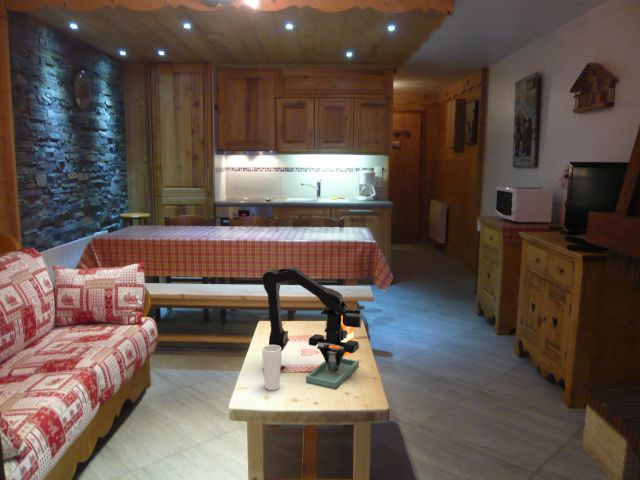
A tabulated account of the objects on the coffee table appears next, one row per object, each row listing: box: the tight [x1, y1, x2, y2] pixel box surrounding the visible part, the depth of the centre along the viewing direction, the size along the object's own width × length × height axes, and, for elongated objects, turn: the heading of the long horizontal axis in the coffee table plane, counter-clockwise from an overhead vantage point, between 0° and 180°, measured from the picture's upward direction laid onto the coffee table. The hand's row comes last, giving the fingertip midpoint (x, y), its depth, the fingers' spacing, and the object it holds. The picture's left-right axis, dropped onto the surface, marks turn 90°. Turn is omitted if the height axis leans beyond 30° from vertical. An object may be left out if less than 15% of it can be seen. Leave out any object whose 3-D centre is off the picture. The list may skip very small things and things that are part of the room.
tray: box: [305, 357, 360, 390], centre depth 196 cm, size 22×12×2 cm, turn 154°
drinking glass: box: [261, 344, 282, 391], centre depth 184 cm, size 7×7×15 cm
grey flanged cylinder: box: [327, 347, 340, 372], centre depth 195 cm, size 5×5×8 cm
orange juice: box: [329, 308, 354, 357], centre depth 217 cm, size 8×9×20 cm
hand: (333, 364), depth 195 cm, fingers closed on grey flanged cylinder, 4 cm apart
